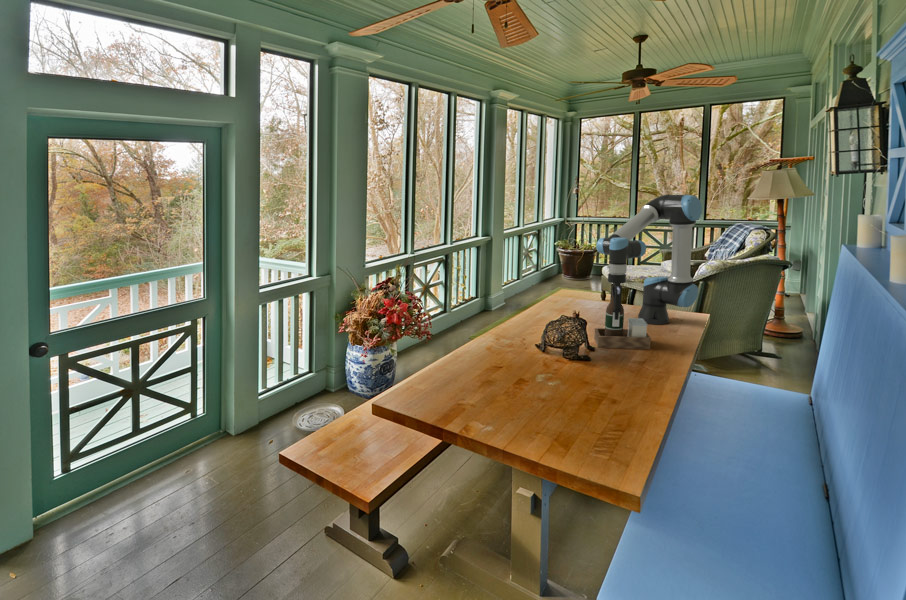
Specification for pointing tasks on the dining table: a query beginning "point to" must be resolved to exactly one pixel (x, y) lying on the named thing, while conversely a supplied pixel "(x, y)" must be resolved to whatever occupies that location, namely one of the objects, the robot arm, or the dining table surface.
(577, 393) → the dining table surface
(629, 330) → the carton
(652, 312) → the robot arm
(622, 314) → the beer bottle
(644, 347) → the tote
